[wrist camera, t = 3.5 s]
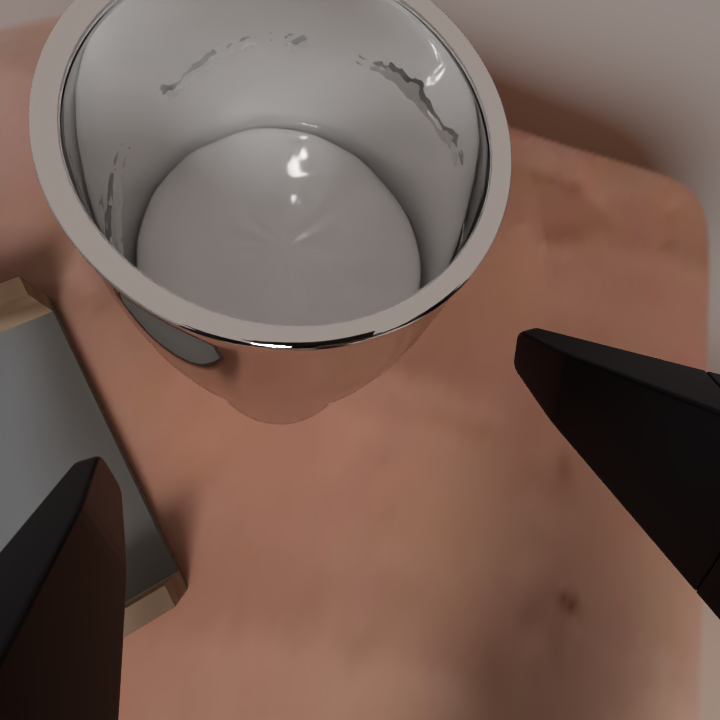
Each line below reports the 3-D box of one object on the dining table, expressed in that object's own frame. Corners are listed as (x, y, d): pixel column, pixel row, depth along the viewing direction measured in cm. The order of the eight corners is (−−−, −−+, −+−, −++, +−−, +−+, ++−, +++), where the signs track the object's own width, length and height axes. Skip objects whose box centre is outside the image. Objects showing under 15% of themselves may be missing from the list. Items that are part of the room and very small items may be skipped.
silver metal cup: (233, 460, 19) (107, 459, 5) (178, 312, 20) (-63, -53, 6) (379, 399, 21) (606, 267, 7) (323, 266, 22) (414, -106, 8)
